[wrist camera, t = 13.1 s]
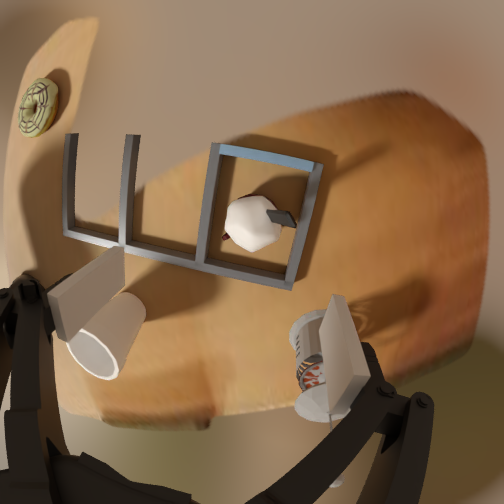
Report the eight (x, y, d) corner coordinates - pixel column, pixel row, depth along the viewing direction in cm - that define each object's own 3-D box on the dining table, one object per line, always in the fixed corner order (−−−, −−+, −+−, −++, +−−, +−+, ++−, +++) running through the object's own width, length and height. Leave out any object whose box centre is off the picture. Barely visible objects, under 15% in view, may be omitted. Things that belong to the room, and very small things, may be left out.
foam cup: (115, 273, 41) (68, 314, 29) (161, 304, 42) (124, 356, 30) (104, 311, 44) (64, 353, 32) (144, 339, 45) (112, 388, 33)
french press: (332, 297, 38) (366, 457, 15) (365, 345, 40) (400, 482, 17) (276, 329, 41) (261, 484, 18) (314, 372, 43) (320, 506, 20)
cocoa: (229, 239, 37) (202, 284, 26) (220, 194, 35) (185, 222, 24) (301, 231, 35) (302, 276, 24) (294, 183, 33) (294, 207, 22)
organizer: (70, 231, 39) (61, 236, 37) (73, 133, 33) (63, 133, 31) (291, 283, 38) (291, 292, 35) (321, 163, 32) (324, 164, 29)
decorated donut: (70, 77, 30) (55, 75, 26) (56, 138, 34) (41, 139, 30) (36, 81, 30) (22, 79, 26) (25, 135, 34) (11, 136, 30)
